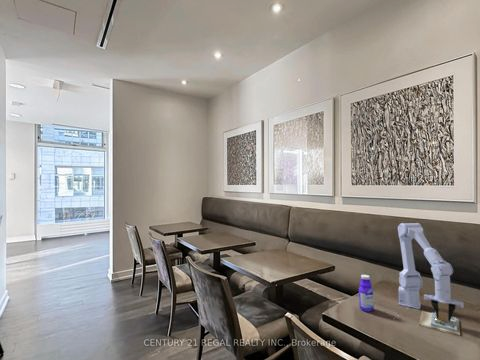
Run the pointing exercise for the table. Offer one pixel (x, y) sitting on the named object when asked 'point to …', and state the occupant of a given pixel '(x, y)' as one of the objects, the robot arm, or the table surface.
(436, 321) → the bosses
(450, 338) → the table surface
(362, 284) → the bottle
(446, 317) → the panel
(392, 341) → the table surface
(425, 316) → the board
